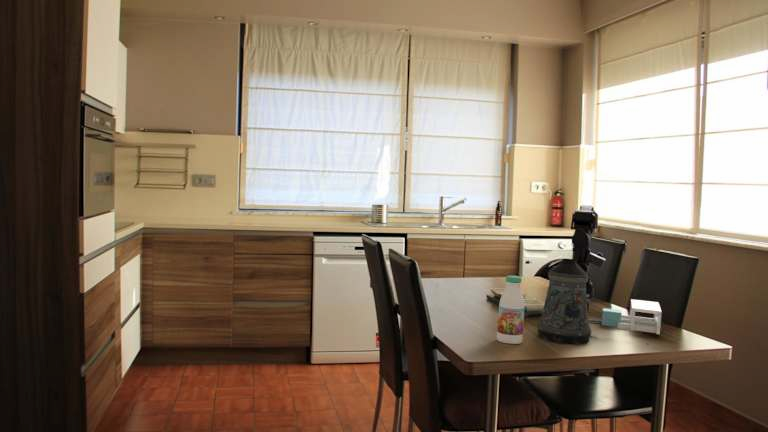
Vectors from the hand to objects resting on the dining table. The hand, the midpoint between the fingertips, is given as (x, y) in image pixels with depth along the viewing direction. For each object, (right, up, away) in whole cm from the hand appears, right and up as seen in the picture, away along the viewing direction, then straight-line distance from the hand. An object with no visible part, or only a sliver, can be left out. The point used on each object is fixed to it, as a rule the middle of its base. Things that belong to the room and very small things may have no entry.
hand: (578, 288), depth 227 cm
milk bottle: (-32, -12, -35) cm, 49 cm away
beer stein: (-14, -13, -26) cm, 32 cm away
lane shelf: (+13, -13, -9) cm, 21 cm away
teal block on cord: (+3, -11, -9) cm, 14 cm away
